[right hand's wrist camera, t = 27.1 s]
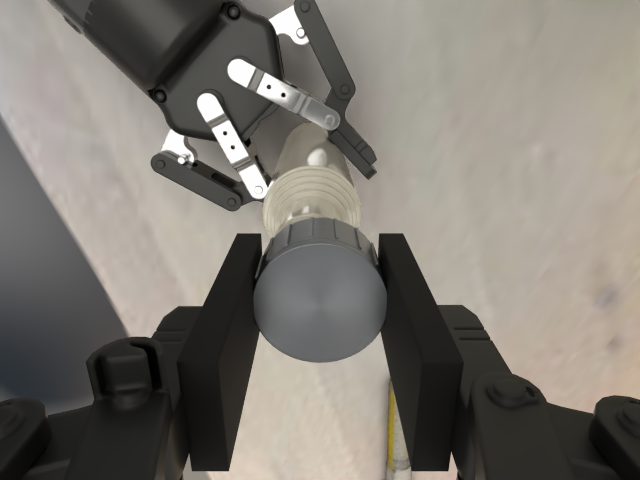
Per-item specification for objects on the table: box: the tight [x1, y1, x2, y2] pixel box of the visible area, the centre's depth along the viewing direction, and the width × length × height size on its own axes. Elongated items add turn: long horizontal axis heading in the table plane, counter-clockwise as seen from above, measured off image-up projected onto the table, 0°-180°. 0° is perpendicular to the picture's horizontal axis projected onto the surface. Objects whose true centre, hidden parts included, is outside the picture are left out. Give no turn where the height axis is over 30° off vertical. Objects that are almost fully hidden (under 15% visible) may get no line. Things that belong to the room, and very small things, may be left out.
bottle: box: [262, 122, 362, 240], centre depth 25 cm, size 4×4×20 cm
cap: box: [253, 217, 387, 363], centre depth 14 cm, size 4×4×2 cm
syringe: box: [386, 381, 411, 480], centre depth 45 cm, size 25×4×3 cm, turn 0°
